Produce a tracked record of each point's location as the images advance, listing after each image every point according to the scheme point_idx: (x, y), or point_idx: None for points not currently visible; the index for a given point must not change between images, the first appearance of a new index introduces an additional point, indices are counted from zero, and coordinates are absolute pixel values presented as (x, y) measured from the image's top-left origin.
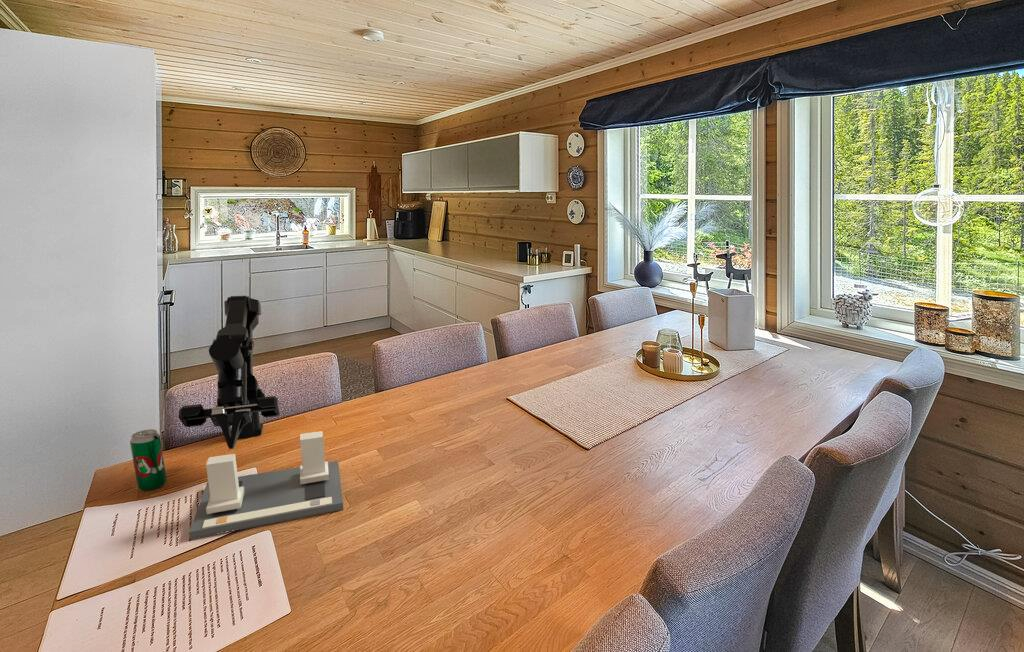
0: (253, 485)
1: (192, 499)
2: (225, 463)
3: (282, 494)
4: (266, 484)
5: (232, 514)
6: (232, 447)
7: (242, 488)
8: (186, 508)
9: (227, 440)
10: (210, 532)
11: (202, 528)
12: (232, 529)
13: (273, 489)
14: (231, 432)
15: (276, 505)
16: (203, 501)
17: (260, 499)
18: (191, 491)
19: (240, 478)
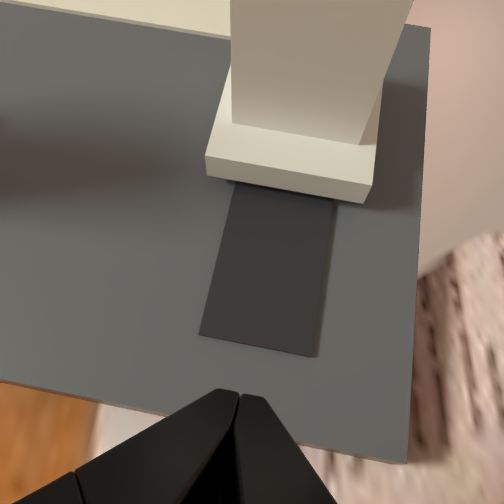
0: (150, 251)
1: (462, 365)
2: None
3: (50, 97)
4: (85, 226)
5: None
6: (221, 388)
7: (214, 136)
8: (475, 284)
9: (272, 432)
10: None
11: None
12: None
13: (70, 158)
14: (190, 479)
15: (102, 32)
16: (403, 221)
17: (149, 104)
18: (486, 477)
19: (204, 386)
